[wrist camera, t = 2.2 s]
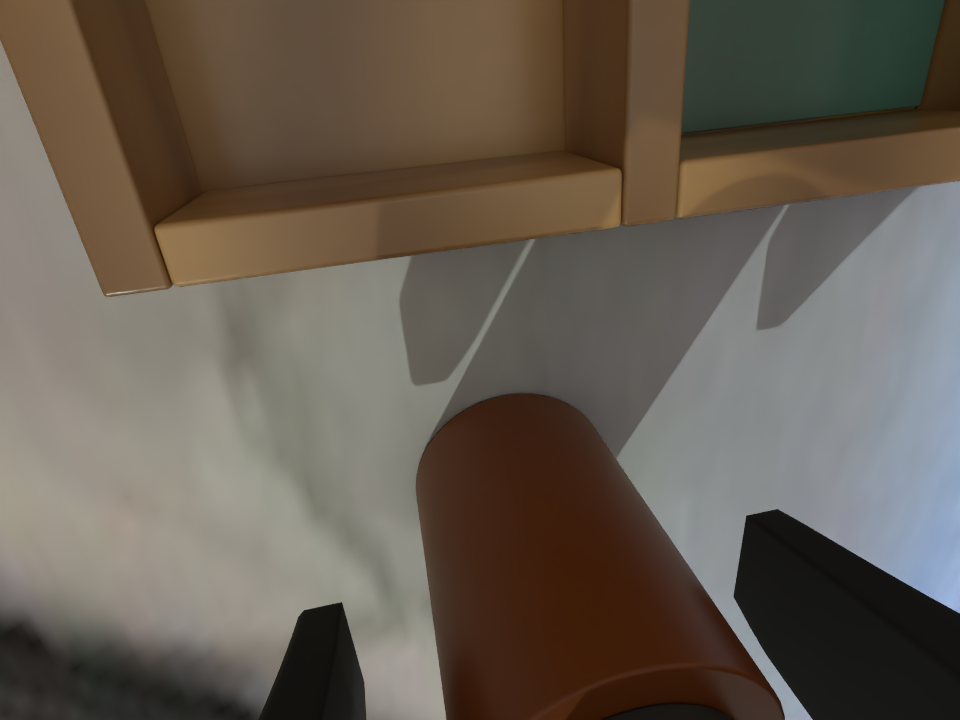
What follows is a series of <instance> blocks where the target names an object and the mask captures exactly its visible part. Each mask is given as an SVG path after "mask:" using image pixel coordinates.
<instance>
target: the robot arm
mask: <svg viewBox="0 0 960 720" xmlns="http://www.w3.org/2000/svg"><path fill="white" fill-rule="evenodd" d="M734 598H735V600H736V602H737V604H738V606H739V607H740V609H741V611H742V613H743V615H744V617H745V619H746V620H747V622H748V624H749V626H750V628H751V629H752V631H753V633H754V635H755V636H756V638H757V640H758V641H759V643H760V645H761V647H762V648H763V650H764V652H765V653H766V655H767V656H768V658H769V659H770V660H771V662H772V663H773V665H774V666H775V668H776V669H777V670H778V672H779V673H780V675H781V676H782V677H783V679H784V680H785V682H786V683H787V684H788V686H789V687H790V689H791V690H792V691H793V693H794V694H795V696H796V697H797V698H798V700H799V701H800V703H801V704H802V705H803V707H804V708H805V709H806V711H807V712H808V714H809V715H810V716H811V718H812V719H813V720H960V613H958V612H956V611H954V610H952V609H950V608H949V607H947V606H945V605H943V604H941V603H940V602H938V601H936V600H934V599H932V598H930V597H929V596H927V595H925V594H923V593H921V592H920V591H918V590H916V589H914V588H913V587H911V586H909V585H907V584H906V583H904V582H902V581H900V580H899V579H897V578H895V577H893V576H892V575H890V574H888V573H886V572H885V571H883V570H881V569H880V568H878V567H876V566H874V565H873V564H871V563H869V562H867V561H866V560H864V559H862V558H861V557H859V556H857V555H856V554H854V553H852V552H851V551H849V550H847V549H845V548H844V547H842V546H840V545H839V544H837V543H835V542H834V541H832V540H830V539H829V538H827V537H825V536H823V535H822V534H820V533H818V532H817V531H815V530H813V529H812V528H810V527H808V526H806V525H805V524H803V523H801V522H799V521H798V520H796V519H794V518H792V517H791V516H789V515H787V514H785V513H783V512H782V511H780V510H778V509H776V510H771V511H767V512H762V513H757V514H753V515H748V516H746V522H745V528H744V534H743V540H742V547H741V553H740V559H739V565H738V572H737V578H736V584H735V590H734ZM258 720H366V706H365V688H364V680H363V676H362V673H361V669H360V666H359V662H358V658H357V655H356V651H355V648H354V644H353V640H352V637H351V633H350V630H349V626H348V622H347V619H346V615H345V612H344V608H343V604H342V602H341V603H336V604H332V605H327V606H322V607H318V608H313V609H308V610H304V611H303V612H302V613H301V615H300V616H299V617H298V620H297V623H296V626H295V629H294V632H293V635H292V638H291V640H290V643H289V646H288V648H287V651H286V654H285V656H284V659H283V662H282V664H281V667H280V669H279V672H278V674H277V677H276V679H275V682H274V684H273V687H272V689H271V691H270V694H269V696H268V699H267V701H266V704H265V706H264V708H263V710H262V713H261V715H260V717H259V719H258Z"/></svg>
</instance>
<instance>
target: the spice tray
mask: <svg viewBox="0 0 960 720" xmlns="http://www.w3.org/2000/svg"><path fill="white" fill-rule="evenodd" d="M0 40H1V42H2V45H3V47H4V50H5V52H6V54H7V57H8V59H9V62H10V64H11V67H12V69H13V72H14V74H15V77H16V79H17V82H18V84H19V87H20V89H21V92H22V94H23V97H24V99H25V101H26V104H27V106H28V109H29V111H30V114H31V116H32V119H33V121H34V124H35V126H36V129H37V131H38V134H39V136H40V139H41V141H42V144H43V146H44V148H45V151H46V153H47V156H48V158H49V161H50V163H51V166H52V168H53V171H54V173H55V176H56V178H57V181H58V183H59V186H60V188H61V191H62V193H63V195H64V198H65V200H66V203H67V205H68V208H69V210H70V213H71V215H72V218H73V220H74V223H75V225H76V228H77V230H78V233H79V235H80V238H81V240H82V242H83V245H84V247H85V250H86V252H87V255H88V257H89V260H90V262H91V265H92V267H93V270H94V272H95V275H96V277H97V280H98V282H99V285H100V287H101V289H102V292H103V294H104V295H105V296H108V297H113V296H120V295H128V294H135V293H142V292H150V291H157V290H164V289H169V288H170V287H172V286H173V284H174V285H175V286H180V287H183V286H190V285H197V284H205V283H212V282H220V281H227V280H234V279H242V278H249V277H256V276H264V275H271V274H278V273H286V272H293V271H300V270H308V269H315V268H322V267H330V266H337V265H345V264H352V263H359V262H367V261H374V260H381V259H389V258H396V257H403V256H411V255H418V254H425V253H433V252H440V251H447V250H455V249H462V248H469V247H477V246H484V245H492V244H499V243H506V242H514V241H521V240H528V239H536V238H543V237H550V236H558V235H565V234H572V233H580V232H587V231H594V230H602V229H609V228H615V227H617V226H619V225H620V224H621V225H624V226H632V225H640V224H647V223H654V222H662V221H669V220H672V219H674V218H675V217H677V218H680V219H683V218H690V217H697V216H705V215H712V214H719V213H727V212H734V211H741V210H749V209H756V208H763V207H771V206H778V205H785V204H793V203H800V202H807V201H815V200H822V199H830V198H837V197H844V196H852V195H859V194H866V193H874V192H881V191H888V190H896V189H903V188H910V187H918V186H925V185H932V184H940V183H947V182H954V181H960V0H0Z"/></svg>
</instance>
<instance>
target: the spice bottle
mask: <svg viewBox="0 0 960 720" xmlns="http://www.w3.org/2000/svg"><path fill="white" fill-rule="evenodd" d="M416 495H417V503H418V510H419V518H420V525H421V533H422V540H423V548H424V555H425V562H426V570H427V577H428V585H429V592H430V600H431V607H432V615H433V622H434V630H435V637H436V644H437V652H438V659H439V667H440V674H441V682H442V689H443V697H444V704H445V711H446V719H447V720H785V716H784V712H783V709H782V705H781V702H780V700H779V698H778V697H777V695H776V693H775V692H774V690H773V689H772V687H771V686H770V684H769V683H768V681H767V680H766V678H765V677H764V675H763V674H762V672H761V671H760V670H759V668H758V667H757V665H756V664H755V662H754V661H753V659H752V658H751V656H750V655H749V653H748V652H747V651H746V649H745V648H744V646H743V645H742V643H741V642H740V640H739V639H738V637H737V636H736V634H735V633H734V631H733V630H732V629H731V627H730V626H729V624H728V623H727V621H726V620H725V618H724V617H723V615H722V614H721V612H720V611H719V610H718V608H717V607H716V605H715V604H714V602H713V601H712V599H711V598H710V596H709V595H708V593H707V592H706V590H705V589H704V588H703V586H702V585H701V583H700V582H699V580H698V579H697V577H696V576H695V574H694V573H693V571H692V570H691V569H690V567H689V566H688V564H687V563H686V561H685V560H684V558H683V557H682V555H681V554H680V552H679V551H678V550H677V548H676V547H675V545H674V544H673V542H672V541H671V539H670V538H669V536H668V535H667V533H666V532H665V530H664V529H663V528H662V526H661V525H660V523H659V522H658V520H657V519H656V517H655V516H654V514H653V513H652V511H651V510H650V509H649V507H648V506H647V504H646V503H645V501H644V500H643V498H642V497H641V495H640V494H639V492H638V491H637V489H636V488H635V487H634V485H633V484H632V482H631V481H630V479H629V478H628V476H627V475H626V473H625V472H624V470H623V469H622V468H621V466H620V465H619V463H618V462H617V460H616V459H615V457H614V456H613V454H612V453H611V451H610V450H609V448H608V447H607V446H606V444H605V443H604V441H603V440H602V438H601V437H600V435H599V434H598V432H597V431H596V429H595V428H594V427H593V425H592V424H591V423H590V421H589V420H588V419H587V418H586V417H585V416H584V415H583V414H582V413H581V412H579V411H578V410H577V409H575V408H574V407H572V406H570V405H569V404H567V403H565V402H562V401H560V400H557V399H554V398H551V397H547V396H543V395H535V394H514V395H505V396H501V397H496V398H492V399H489V400H487V401H484V402H481V403H478V404H476V405H474V406H472V407H470V408H468V409H466V410H465V411H463V412H462V413H460V414H459V415H457V416H456V417H454V418H453V419H452V420H451V421H449V422H448V423H447V424H446V425H445V426H444V427H443V428H442V429H441V430H440V431H439V432H438V433H437V434H436V436H435V437H434V438H433V439H432V441H431V442H430V444H429V445H428V447H427V449H426V451H425V452H424V454H423V456H422V459H421V462H420V464H419V468H418V472H417V477H416Z"/></svg>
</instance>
